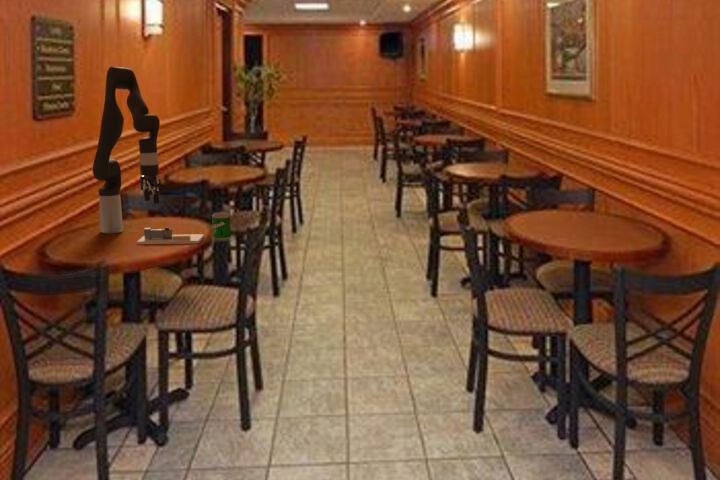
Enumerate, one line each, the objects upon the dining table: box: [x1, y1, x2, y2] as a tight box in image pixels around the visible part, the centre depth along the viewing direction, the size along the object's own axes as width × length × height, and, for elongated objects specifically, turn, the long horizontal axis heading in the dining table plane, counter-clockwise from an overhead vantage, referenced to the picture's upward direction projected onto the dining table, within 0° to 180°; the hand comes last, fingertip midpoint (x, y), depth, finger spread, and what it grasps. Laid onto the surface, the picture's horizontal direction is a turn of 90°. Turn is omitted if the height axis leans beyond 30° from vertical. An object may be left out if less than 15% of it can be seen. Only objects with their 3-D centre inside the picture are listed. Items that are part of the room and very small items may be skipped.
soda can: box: [211, 211, 232, 242], centre depth 330 cm, size 8×8×12 cm
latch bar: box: [143, 227, 173, 239], centre depth 329 cm, size 12×4×4 cm, turn 91°
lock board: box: [136, 233, 205, 245], centre depth 331 cm, size 26×13×3 cm, turn 91°
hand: (151, 202), depth 320 cm, fingers open, 8 cm apart
